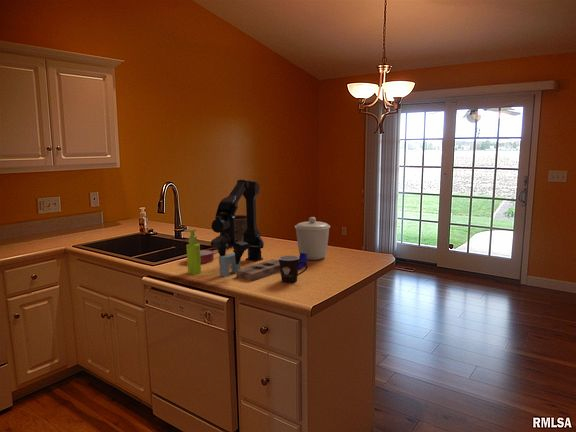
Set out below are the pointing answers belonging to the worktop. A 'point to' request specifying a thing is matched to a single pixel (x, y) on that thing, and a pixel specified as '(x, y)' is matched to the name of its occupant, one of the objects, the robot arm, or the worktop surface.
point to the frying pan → (209, 255)
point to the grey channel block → (225, 262)
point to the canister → (312, 238)
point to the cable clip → (302, 260)
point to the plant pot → (240, 226)
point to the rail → (259, 270)
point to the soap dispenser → (193, 254)
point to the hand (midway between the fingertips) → (230, 262)
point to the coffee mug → (289, 268)
